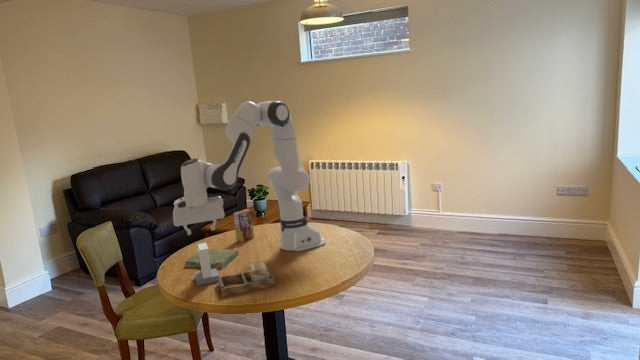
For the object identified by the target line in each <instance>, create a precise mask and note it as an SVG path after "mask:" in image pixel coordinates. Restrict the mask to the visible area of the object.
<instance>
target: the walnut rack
mask: <svg viewBox="0 0 640 360" xmlns="http://www.w3.org/2000/svg"><path fill="white" fill-rule="evenodd" d="M266 269H267V272H268V273H269V277H270V279H265V280H260V281H255V282H252V281H251V282H248V281H247V280H251V277H250V273H249V271H250V270H247V271H243V272H238V273H233V274H228V275H223V276H219V277H218V286H219V289H220V291H221V295H222V297H228V296H232V295H237V294H238V295H239V294H243V293H247V292H248V293H249V292H251V291H257V290H262V289H266V288H271V287H275V278H274V276H273V274H272V272H271V271H270V269H269V268H268V267H267V266H266ZM235 282H236V283H238V282H242V284H236V285H231V286H227V287H226V286H225V285H226V284H231V283H235Z"/></svg>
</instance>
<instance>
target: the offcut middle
mask: <svg viewBox="0 0 640 360" xmlns="http://www.w3.org/2000/svg"><path fill="white" fill-rule="evenodd" d="M248 271H249V273H250V277H251V278H252V280H253V281H254V282H255V281H260V280H265V279H270V277H269V273H268V272H267V275H261V276H255V277H253V275H252V272H251V269H250V270H248Z"/></svg>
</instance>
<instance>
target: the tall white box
mask: <svg viewBox="0 0 640 360" xmlns="http://www.w3.org/2000/svg"><path fill="white" fill-rule="evenodd" d="M197 248H198V249H197V250H198V251H199V257H200V264H201V268H200V269H201V270H200V271H202V276H203V278H208V277H212V273H211V266H210V258H209V250H210V249H209V247H208V244H207V242H202V243H197Z"/></svg>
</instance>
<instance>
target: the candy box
mask: <svg viewBox="0 0 640 360" xmlns="http://www.w3.org/2000/svg"><path fill="white" fill-rule="evenodd" d="M232 216H233V221H234V228H235V229H234V230H235V235H236V241H237V242H240V243H243V242H245V241H248V240H250V239H253V238H255V233H254V232H255V231H254V227H253V226H254V225H253V219H252V211H251V209H247V208H246V209H242V210H240V211H235V212H234V213H233V214H232Z"/></svg>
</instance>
